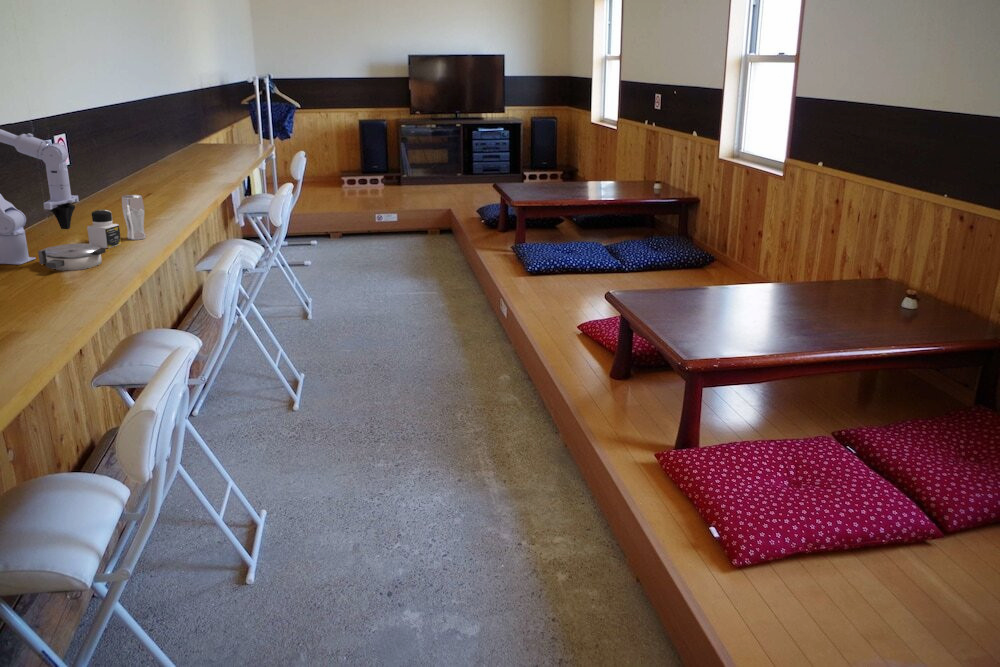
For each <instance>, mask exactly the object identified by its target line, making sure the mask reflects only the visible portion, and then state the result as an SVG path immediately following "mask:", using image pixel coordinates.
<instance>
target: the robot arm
mask: <svg viewBox="0 0 1000 667" xmlns="http://www.w3.org/2000/svg"><path fill="white" fill-rule="evenodd" d="M0 143H3V144H5V145H6V144H7V145H8V146H9V145H10V146H12V147H14V148H15V150H16V151H17V152H18V153H20V154H23V155H26V156H28V157H33V158H35V159H38V160H42V161H43V163H44V164H45V170H46V177H47V183H48V191H49V197H50V199H48V200H47V201H46V202H43V210H49V211H50V212H51V213H52V214H53V216H54V217H55V218H56V220H57V222H58V224H59V227H60V229H61V230H69V229H71V222H72V216H73V214H74V211H75V208H76V206H75V204H73V203H78V202H80V201H79V195H73V194H72V191H71V183H70V178H69V170H68V165H67V164H68V163H67V161H66V160H67V159H68V157H69V152H68V150H67V148H66V147H65V146H64V145H63V144H61V143H58V142H53V143H51V141H50V140H48V139H45V140H44V139H42V138H41V139H40V138H38V137H36V136H35V137H34V134H33V133H30V132H29V133H27V134H26V133H21V134H20V135H17V134H14V133H11V132H9V131H7V130H4V129H1V128H0ZM26 222H27V216H26V215H25V214H24V212H22V211H21V210H20V209H17V208H16V207H15V206H14V204H13V203H12V202H10V201H8V200H6V199H5V198H4V196H3V195H2V194H1V193H0V265H17V266H18V265H23V264H25V263H28V262H31V261H34V260H36V258H37V257H34V256H30V255H29V249H28V243H27V237H26V236H27V235H26V230H25V229H24V227H25V225H26Z"/></svg>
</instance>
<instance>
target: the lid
mask: <svg viewBox="0 0 1000 667" xmlns="http://www.w3.org/2000/svg"><path fill="white" fill-rule="evenodd" d="M50 247H51V248H48V247H47V248H48V249H46V248H45V249H46V250H44V251H43V252H44V253H46V256H47V257H51V258H80V257H86V256H91V255H100V254H101V255H103V254H105V253H106V248H100V246H98V245H95V244H89V243H85V242H83V243H67V244H59V245H55V246H50Z"/></svg>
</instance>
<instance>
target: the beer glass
mask: <svg viewBox="0 0 1000 667" xmlns="http://www.w3.org/2000/svg"><path fill="white" fill-rule="evenodd" d="M143 199H144V198H143V196H142V195H140V194H125V195H122V196H121V207H122V214H123V217H124V221H125V224H126V228H127V235H126V236H127V237H126V239H127V240H128V241H129V240H130V241H141V240H145V239H146V237H147V236H146V233H145V228H144V227H145V226H144V223H145V205H144V200H143Z"/></svg>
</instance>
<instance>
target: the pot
mask: <svg viewBox="0 0 1000 667" xmlns="http://www.w3.org/2000/svg"><path fill="white" fill-rule="evenodd" d="M51 247H52V246H48V247H46V248H44V249H41V250H38V251H37V254H38V260H39V265H40V264H45V266H46V268H47V269H50V268H51V269H50V270H54V269H56V270H55V271H64V270H69V271H82V270H88V269H87V268H89V269H92V268H91V267H93V268H95V267H94V266H96V267H98V266H97V265H99V264H101V263H102V264H103V260H102V254H100V255H91V256H86V257H80V258H51V257H47V256H46V253H44V252H43V251H44V250H46V249H48V248H51ZM102 264H101V265H102ZM99 266H100V265H99Z"/></svg>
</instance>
